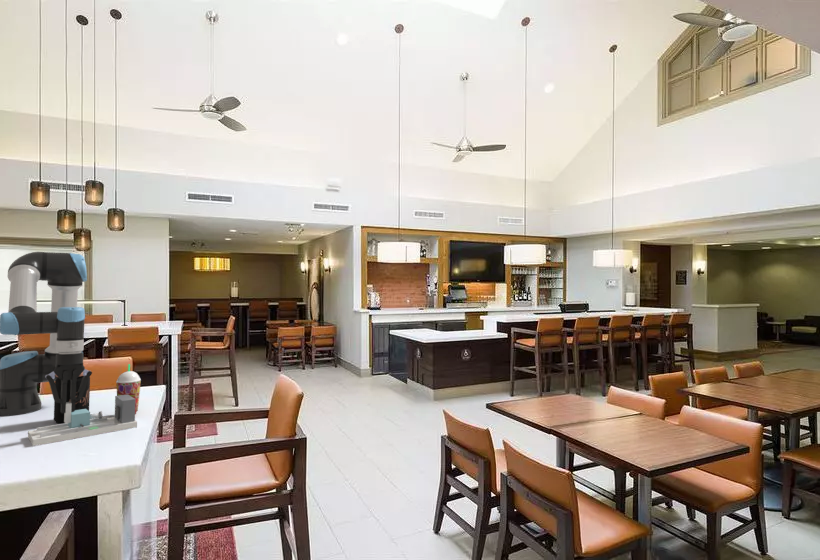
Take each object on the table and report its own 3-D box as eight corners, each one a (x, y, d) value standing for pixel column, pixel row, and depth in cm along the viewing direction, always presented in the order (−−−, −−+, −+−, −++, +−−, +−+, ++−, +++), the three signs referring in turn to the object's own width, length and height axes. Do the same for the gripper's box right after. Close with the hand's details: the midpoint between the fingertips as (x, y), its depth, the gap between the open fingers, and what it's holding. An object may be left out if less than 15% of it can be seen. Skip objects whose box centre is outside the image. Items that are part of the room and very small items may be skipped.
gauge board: (28, 437, 150) (29, 407, 150) (127, 420, 171) (128, 393, 171) (32, 446, 142) (34, 414, 142) (137, 427, 163) (137, 399, 163)
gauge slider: (68, 425, 156) (68, 411, 156) (99, 420, 162) (99, 406, 162) (73, 431, 149) (73, 416, 149) (105, 426, 156) (105, 411, 156)
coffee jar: (70, 425, 164) (71, 375, 164) (46, 423, 166) (47, 374, 166) (95, 417, 174) (97, 370, 175) (73, 415, 176) (74, 369, 177)
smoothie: (111, 418, 173) (113, 366, 173) (119, 412, 181) (120, 362, 181) (136, 417, 175) (137, 365, 176) (142, 411, 183) (144, 362, 184)
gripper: (47, 355, 146) (44, 428, 146) (95, 351, 156) (92, 420, 155) (43, 352, 152) (41, 423, 151) (90, 349, 161) (88, 416, 160)
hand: (67, 422), depth 153 cm, fingers closed
